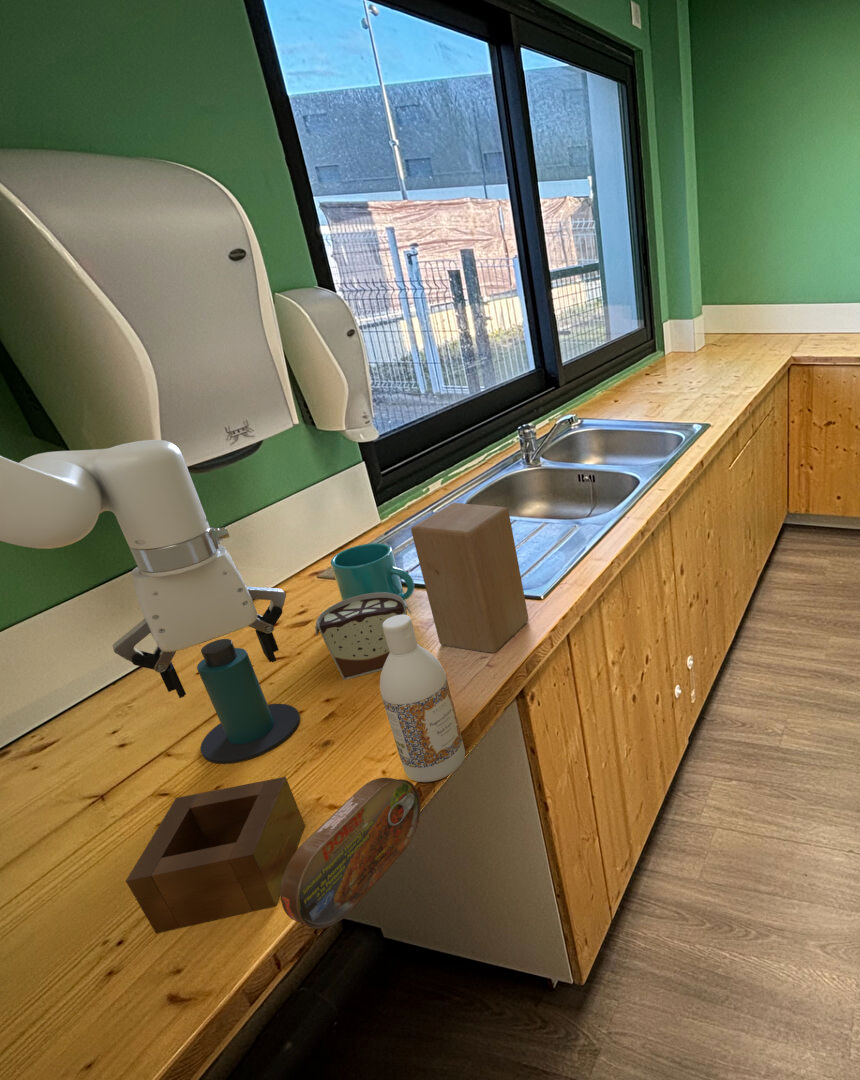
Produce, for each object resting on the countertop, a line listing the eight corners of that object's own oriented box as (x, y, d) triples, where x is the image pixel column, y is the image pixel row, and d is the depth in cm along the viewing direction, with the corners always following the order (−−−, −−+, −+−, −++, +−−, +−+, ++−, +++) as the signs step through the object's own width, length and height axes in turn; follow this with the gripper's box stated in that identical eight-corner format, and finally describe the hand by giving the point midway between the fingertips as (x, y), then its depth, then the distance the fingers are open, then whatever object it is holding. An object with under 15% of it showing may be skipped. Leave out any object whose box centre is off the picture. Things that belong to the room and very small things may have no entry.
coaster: (186, 772, 84) (184, 768, 84) (221, 715, 94) (220, 712, 94) (286, 753, 87) (284, 750, 86) (310, 700, 96) (309, 697, 96)
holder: (155, 933, 65) (125, 881, 62) (200, 847, 74) (175, 797, 71) (276, 906, 67) (252, 854, 64) (305, 825, 76) (285, 776, 73)
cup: (407, 630, 112) (390, 568, 107) (337, 629, 113) (318, 567, 108) (433, 601, 120) (419, 542, 115) (368, 601, 121) (351, 542, 117)
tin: (317, 950, 63) (288, 884, 59) (291, 940, 64) (261, 875, 60) (430, 823, 76) (412, 763, 72) (406, 816, 76) (388, 757, 73)
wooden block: (438, 645, 107) (408, 527, 99) (477, 613, 116) (453, 501, 108) (494, 654, 104) (468, 533, 96) (530, 620, 113) (509, 506, 105)
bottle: (221, 748, 87) (183, 661, 82) (236, 721, 92) (201, 638, 86) (267, 739, 88) (232, 653, 83) (279, 714, 93) (247, 631, 87)
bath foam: (433, 792, 80) (390, 644, 71) (392, 773, 83) (347, 629, 74) (478, 754, 85) (444, 612, 77) (438, 737, 88) (401, 599, 80)
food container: (420, 639, 109) (405, 583, 105) (423, 659, 104) (408, 600, 100) (333, 661, 105) (313, 603, 101) (331, 683, 100) (311, 623, 95)
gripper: (253, 518, 87) (294, 635, 94) (75, 566, 76) (136, 693, 84) (270, 535, 82) (312, 656, 89) (81, 588, 71) (146, 722, 79)
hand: (227, 674), depth 86 cm, fingers open, 9 cm apart
